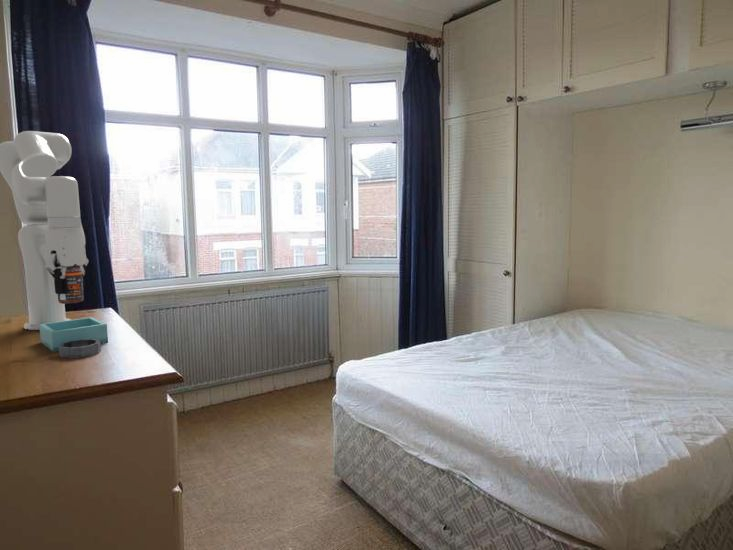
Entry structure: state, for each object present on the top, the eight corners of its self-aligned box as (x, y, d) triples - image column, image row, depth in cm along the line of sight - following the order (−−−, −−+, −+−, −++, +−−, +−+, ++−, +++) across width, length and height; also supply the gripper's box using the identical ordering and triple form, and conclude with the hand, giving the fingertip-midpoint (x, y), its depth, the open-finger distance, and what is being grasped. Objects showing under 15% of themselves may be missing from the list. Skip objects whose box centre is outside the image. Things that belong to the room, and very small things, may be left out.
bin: (40, 342, 138) (39, 324, 137) (93, 334, 147) (91, 317, 146) (53, 351, 128) (51, 332, 128) (108, 342, 137) (106, 324, 137)
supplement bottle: (65, 305, 132) (61, 261, 130) (54, 303, 135) (50, 260, 134) (88, 301, 137) (84, 259, 135) (77, 299, 140) (73, 258, 139)
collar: (55, 353, 127) (55, 343, 127) (94, 346, 133) (93, 337, 133) (65, 360, 121) (64, 350, 120) (105, 353, 127) (104, 343, 127)
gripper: (73, 223, 142) (78, 286, 145) (26, 225, 125) (33, 296, 127) (98, 223, 142) (103, 287, 144) (54, 224, 125) (61, 297, 127)
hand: (70, 291), depth 136 cm, fingers closed on supplement bottle, 6 cm apart
